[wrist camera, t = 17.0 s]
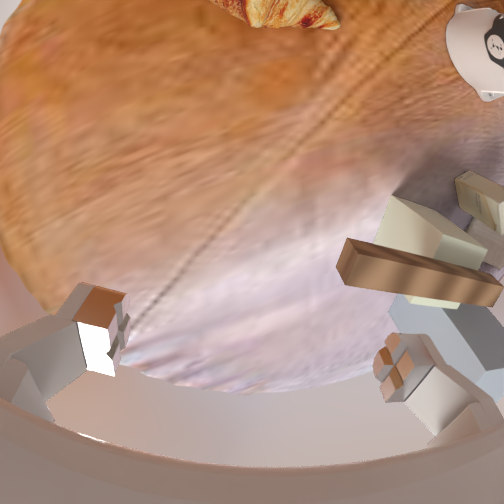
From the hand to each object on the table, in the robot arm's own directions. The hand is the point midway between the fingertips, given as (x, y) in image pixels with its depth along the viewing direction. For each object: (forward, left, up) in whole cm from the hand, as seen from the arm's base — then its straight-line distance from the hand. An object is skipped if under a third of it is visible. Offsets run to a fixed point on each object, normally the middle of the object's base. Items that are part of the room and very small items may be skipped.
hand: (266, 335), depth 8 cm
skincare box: (-36, +15, -35) cm, 53 cm away
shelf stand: (-27, +36, -35) cm, 57 cm away
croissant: (-9, -21, -36) cm, 42 cm away
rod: (-18, +17, -20) cm, 32 cm away
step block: (-22, +19, -35) cm, 45 cm away
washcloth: (-44, +27, -36) cm, 63 cm away
